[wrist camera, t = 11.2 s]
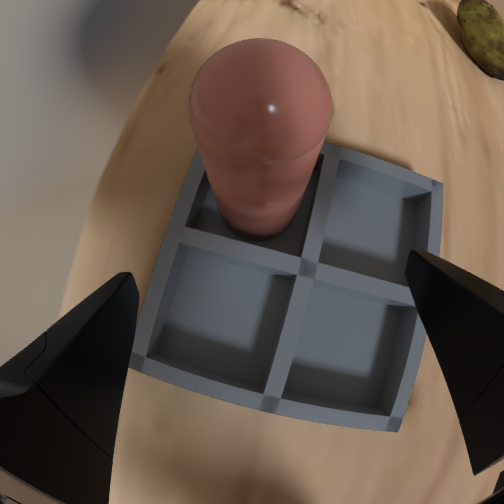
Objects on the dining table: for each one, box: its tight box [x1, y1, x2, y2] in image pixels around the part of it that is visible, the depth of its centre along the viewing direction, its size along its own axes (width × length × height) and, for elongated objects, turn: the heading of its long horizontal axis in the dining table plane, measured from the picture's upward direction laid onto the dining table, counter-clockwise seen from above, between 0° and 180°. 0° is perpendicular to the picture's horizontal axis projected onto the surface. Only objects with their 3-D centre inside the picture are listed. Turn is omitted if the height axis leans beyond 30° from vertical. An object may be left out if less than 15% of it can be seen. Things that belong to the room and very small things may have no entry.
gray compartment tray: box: [128, 142, 443, 432], centre depth 19 cm, size 17×17×3 cm
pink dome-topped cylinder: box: [188, 38, 332, 241], centre depth 14 cm, size 5×5×13 cm
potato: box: [457, 0, 504, 81], centre depth 23 cm, size 8×13×8 cm, turn 164°
